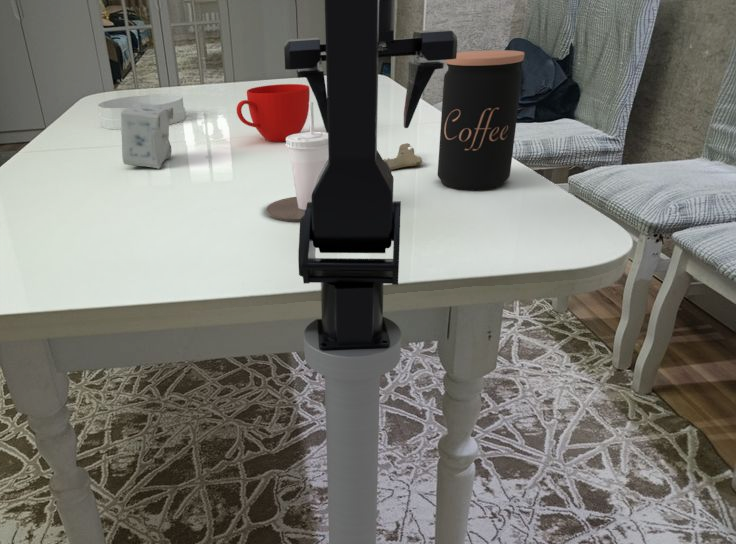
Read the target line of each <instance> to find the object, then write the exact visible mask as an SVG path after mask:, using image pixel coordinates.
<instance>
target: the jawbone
mask: <svg viewBox="0 0 736 544" xmlns="http://www.w3.org/2000/svg"><path fill="white" fill-rule="evenodd" d="M398 147H399V148H398V153H397V156H395V157H394V158H384V159H383V161H384V162H387V164H388V166H389V168H390V170H391V171H393V170H397V169H401V168H405V167H406V168H407V167H414V166H420V165H422V163H423V159H422V157H420V156H418V155H416V154H415V149H414V147H412V145H411V144H410V143H402V144H400V146H398ZM410 147H411V148H410ZM408 148H409V149H408Z"/></svg>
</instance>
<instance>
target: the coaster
mask: <svg viewBox="0 0 736 544" xmlns="http://www.w3.org/2000/svg"><path fill="white" fill-rule="evenodd" d="M266 214H267V215H268V217H270V218H272V219H275V220H278V221H283V222H294V223H300V218H301V217H302V216H303V215H304V214H305V210H303V209H300V208H298V202H297V196H292V197H291V196H290V197H286V198H281V199H279V200H276V201H273V202H271V203H270V204H269V205H268V206H266Z"/></svg>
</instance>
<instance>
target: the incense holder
mask: <svg viewBox="0 0 736 544" xmlns="http://www.w3.org/2000/svg"><path fill="white" fill-rule="evenodd" d="M171 119H172V120H173V107H165V106H157V105H149V104H141V103H139V104H136V105H134V106H132V107H131V108H129V109H126V110H123V111H122V112H121V130H120V131H121V157H122V162H123V164H124V165H128V166H136V167H149V168H153V169H157V170H160V169H161V167H162V166H163V163H164V162H165V161H166V160H169V159H170V158H171V156H172V145H171V142H170V124H169V121H170V120H171Z"/></svg>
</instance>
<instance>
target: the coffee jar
mask: <svg viewBox="0 0 736 544" xmlns="http://www.w3.org/2000/svg"><path fill="white" fill-rule="evenodd" d="M524 59H525V51H520V50H513V49H512V50H508V49H505V50H504V49H489V50H488V49H487V50H469V51H459V52H457V56H456V59H449V60H444V61H445V64H446V65H447V71H446V72H445V73H444V76H443V85H442V86H443V88H442V100H441V116H440V132H439V145H438V147H439V148H438V160H437V161H438V163H437V177H438V179H439V181H440V182H441V184H442V185H443V186H445V187H447V188H450V189H454V190H460V191H461V190H462V191H488V190H494V189H497V188H500V187H502V186H504V185H505V184H506V182H507V181H508V180H509V178H510V176H511V168H512V161H513V153H514V145H515V137H516V129H517V121H518V112H519V103H520V96H521V88H522V81H523V79H522V78H523V71H522V69H521V67H520V66H521V63H522V62H523V61H524Z"/></svg>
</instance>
